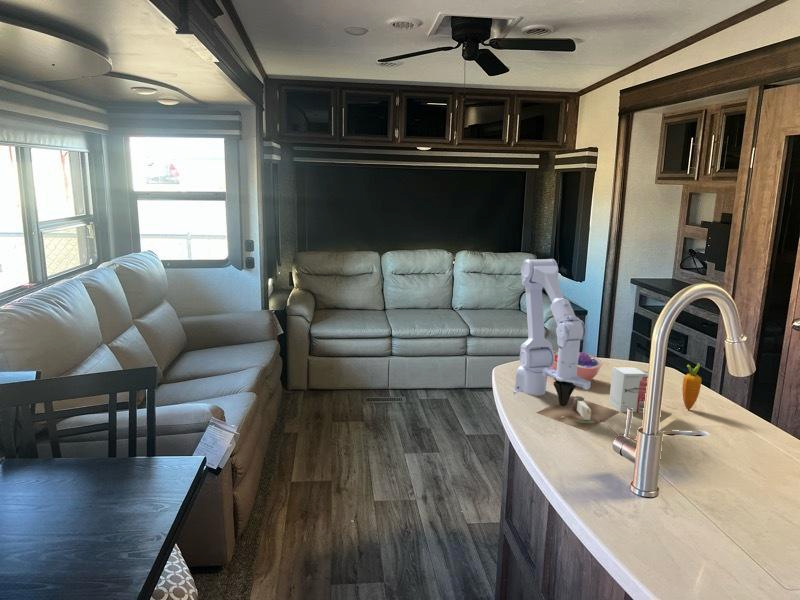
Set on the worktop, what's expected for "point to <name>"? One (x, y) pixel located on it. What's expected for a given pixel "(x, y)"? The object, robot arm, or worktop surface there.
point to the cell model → (584, 365)
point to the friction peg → (581, 407)
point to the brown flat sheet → (578, 414)
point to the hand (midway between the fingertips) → (563, 404)
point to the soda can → (642, 393)
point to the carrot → (691, 387)
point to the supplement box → (625, 388)
